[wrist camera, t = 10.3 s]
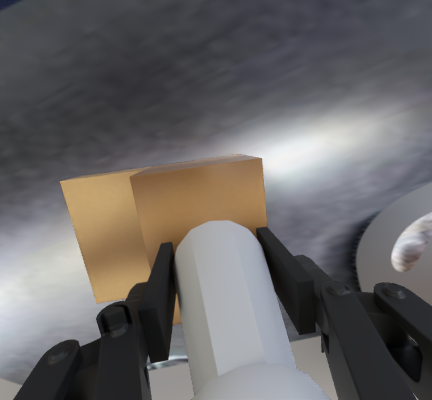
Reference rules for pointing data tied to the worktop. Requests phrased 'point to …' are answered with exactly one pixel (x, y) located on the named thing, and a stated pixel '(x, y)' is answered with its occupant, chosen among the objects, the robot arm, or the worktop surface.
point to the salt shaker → (234, 319)
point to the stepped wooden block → (157, 214)
